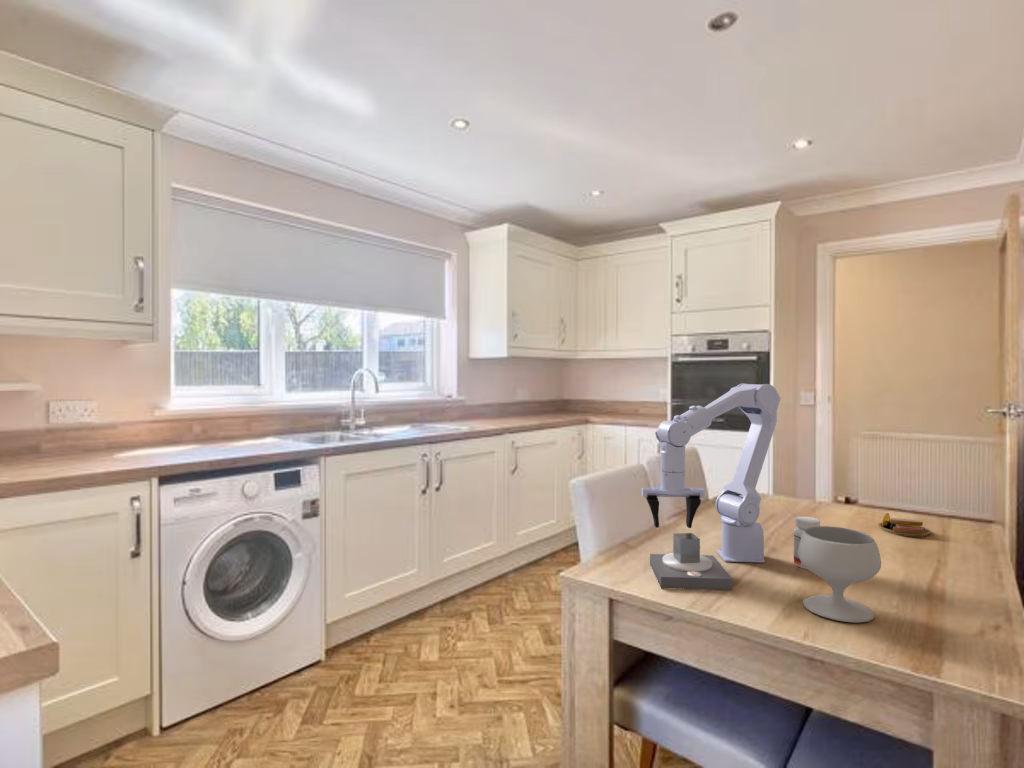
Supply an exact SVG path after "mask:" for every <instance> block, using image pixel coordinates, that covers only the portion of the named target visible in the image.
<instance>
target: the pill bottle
mask: <svg viewBox="0 0 1024 768" xmlns="http://www.w3.org/2000/svg"><path fill="white" fill-rule="evenodd" d="M817 526H821V520H820V519H819V518H816V517H812V516H796V517H795V528H794V530H793V563H794V565H795V566H796V567H798V568H800V569H804V570H808V571H810V570H809V569H807V568H806V567H805V566H804V565H803V564H802V562H801V561H800V558H799V556H798V547H799V542H800V539H801V536H802V534H803V532H804V531H805V530H806V529H807V528H810V527H817Z"/></svg>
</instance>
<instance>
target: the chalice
mask: <svg viewBox="0 0 1024 768" xmlns="http://www.w3.org/2000/svg"><path fill="white" fill-rule="evenodd" d="M798 556H799V558H800V561H801V562H802V564H803V565H804V566H805V567H806V568H807V569H806V570H808V569H809V570H808V571H810V572H811V573H813V574H814V575H816V576H818V577H820V578H822V579H823V580H824V581H825V582H827V583H828V584H829V586H830V587H831V590H832V593H831V595H826V594H818V595H817V594H816V595H810V596H808V597H806V598H804V599H803V601H802V605H803V606H804V607H805V608H806V609H807V610H808V611H809V612H810V613H813V614H815V615H818V616H820V617H823V618H826V619H829V620H834V621H838V622H845V623H854V624H855V623H857V624H858V623H866V622H870V621H872V620H874V619H875V618H876V617H875V616H876V614H875V612H874V611H873V610H872V609H871V608H869V607H868V606H867V605H864V604H863V603H860V602H859V601H856V600H853V599H851V598H846V597H845V596H844V592H845V590H846V589H847V588H848V587H849V586H851V585H853V584H856V583H860V582H865V581H867V580H870V579H872V578H874V577H875V576H877V574H878V573H880V570H881V568H882V558H881V553H880V550H879V546H878V544H877V542H876V541H875V539H874V537H873V536H871V535H870V534H868V533H866V532H862V531H860V530H859V531H858V530H856V529H851V528H846V527H841V526H839V527H837V526H828V525H824V526H823V525H820V526H817V527H810V528H807V529H806V530H805V531H804V532H803V534H802V536H801V539H800V542H799V547H798Z"/></svg>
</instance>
